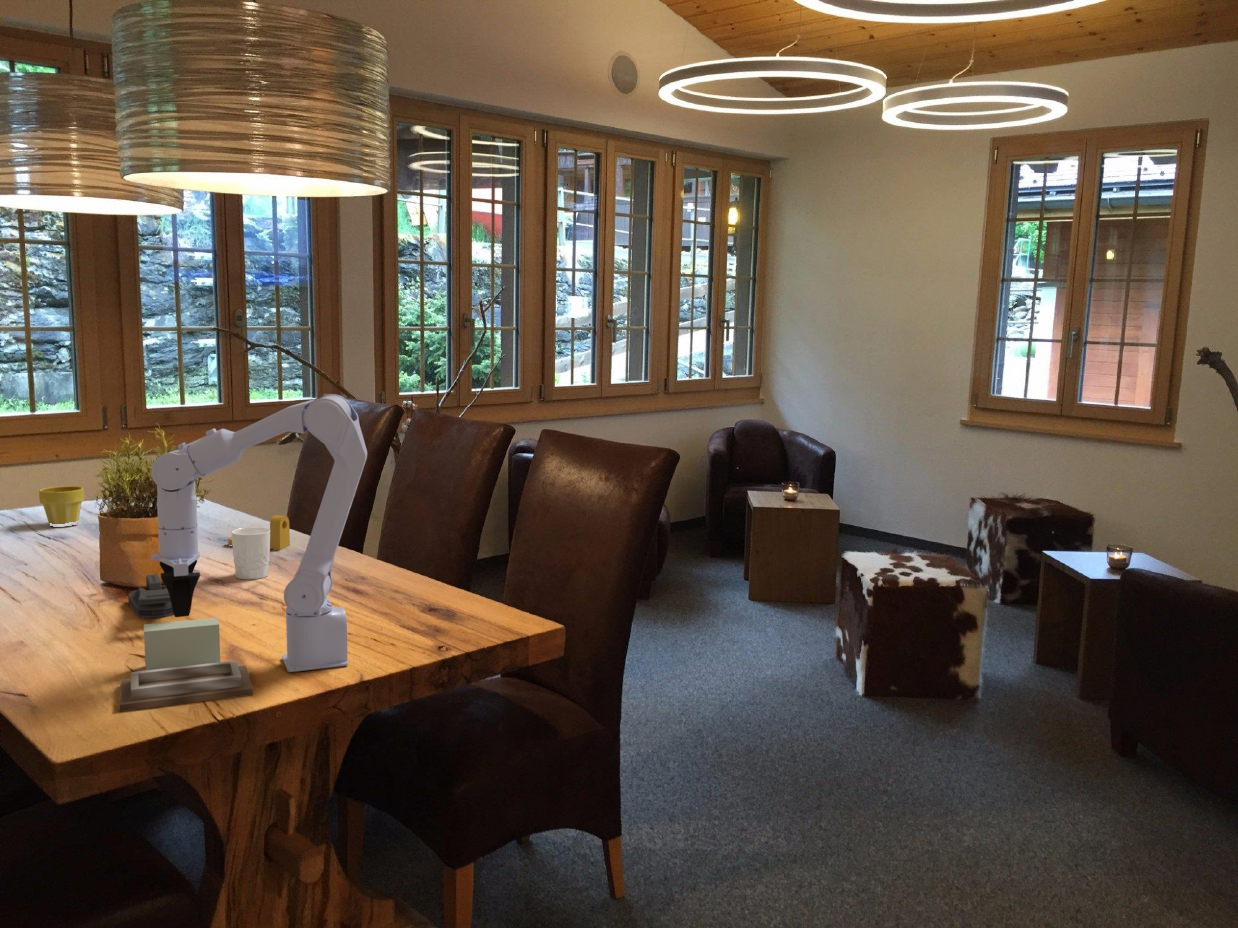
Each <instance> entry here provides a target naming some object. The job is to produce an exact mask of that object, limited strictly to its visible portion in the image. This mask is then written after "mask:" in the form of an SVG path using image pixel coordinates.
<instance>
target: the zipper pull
mask: <svg viewBox="0 0 1238 928" xmlns="http://www.w3.org/2000/svg"><path fill="white" fill-rule="evenodd" d="M145 580H146V581H145V586H142V587H141V586H140V587H139V588H137V589H136V590H133V591H131V592H130V593H129V594H128V595H127V597H128V601H127V602H128V607H129V608H130V609H131V610H132V611H133V612H134V615H136V616H138V619H150V620H151V619H153V620H154V619H160V618H161V619H163V618H168V617H171V616H174V613H173V609H172V605H171V600H170V596H169V593H168V590H167V588H166V586H165V584H164V585H162V582H161V581H162V580H161V579H160V577H159V575H158V573H155V574H147V575H146V577H145Z"/></svg>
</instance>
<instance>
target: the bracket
mask: <svg viewBox="0 0 1238 928" xmlns="http://www.w3.org/2000/svg"><path fill="white" fill-rule="evenodd" d="M269 529H270V549H273V550H272V551H275V550H281V551H283V550H282V549H284V548H286V547H288V546H290V547H291V543H290V538H291V537H290V520H289V517H288V516H287V515H272V517H271V519H270V521H269ZM228 545H232V536H230V537H227V546H228ZM286 549H287V548H286ZM284 550H285V549H284Z"/></svg>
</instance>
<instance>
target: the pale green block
mask: <svg viewBox="0 0 1238 928" xmlns="http://www.w3.org/2000/svg"><path fill="white" fill-rule="evenodd" d="M218 619H219V618H218V617H211V618H199V619H188V620H180V621H179V620H178V621H177V620H176V621H167V622H158V623H147V624H145V623H144V624H143V635H144V636H143V638H144V639H143V640H144V642H143V643H144V662H145V665H144V667H145V671H146V670H155V669H164V668H173V667H182V666H190V665H199V664H208V663H217V662H221V643H220V638H221V637H220V636H221V635H220V623H219V620H218Z"/></svg>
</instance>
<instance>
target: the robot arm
mask: <svg viewBox="0 0 1238 928" xmlns="http://www.w3.org/2000/svg"><path fill="white" fill-rule="evenodd" d="M289 432H292V433H297V434H305V433H308V432H309V433H311V435H313V436H314V438H316V439H317V440H319V441H320V442H321V443H322V444H324V445H325V448H326V449H327V451H328V452H329V454H330V455H331V457H332V458H333V460H334V463H333V465H332V469H331V471H330V474H329V478H328V482H327V485H326V488H325V490H324V492H323V493H324V494H323V496H322V499H321V503H320V504H319V505H320V506H319V508H318V511H317V515H316V518H315V521H314V524H313V527H312V529H311V533H310V537H309V539H308V543H307V546H306V549H305V551H304V554H303V556H302V559H301V561H300V563H299V565H298V569H297V570H296V572H295V574H294V577H293V578H292V579H291V580H290V581H289V583H288V584H287V585H286V586H285V588H284V591H283V601H284V603H285V605H286V607H285V618H286V619H285V620H286V621H285V622H286V627H285V628H286V629H285V631H286V654H282V655H281V659H282V661H283V664H284V665H285V668H286V671H287V672H288V673H295V672H302V671H310V670H311V671H312V670H320V669H329V668H337V667H345V666H349V661H348V660H349V659H348V624H347V622H348V620H347V615H346V611H345V609H344V607H341V606H340V607H339V606H338V607H334V606H333V603H331V602H330V600H329V598H328V597H327V596H328V595H329V593H330V592H331V590H332V588H333V577H332V568H333V565H334V562H335V556H336V552H337V550H338V547H339V544H340V540H341V538H342V534H343V531H344V529H345V525H346V522H347V519H348V516H349V513H350V511H351V510H350V509H351V508H352V504H353V501H354V498H355V497H356V493H357V489H358V486H359V483H360V480H361V477H362V473H363V471H364V467H365V465H366V462H367V459H368V449H367V447H366V443H365V440H364V435H363V432H362V428H361V426H360V419H359V415H358V413H357V411H356V410H355V409H354V407H353V405H351V403H350V402H349V401H348V400H347V399H346V397H344V396H341V395H339V394H335V393H332V394H331V393H329V394H326V395H323V396H321V397H320V398H317V399H315V398H313V399H311V400H307V401H303V402H300V403H296V404H292V405H290V406H288V407H286V408H283V409H281V410H279V411H277V412H275V413H273V414H271V415H269V416H266V417H265V418H263V419H260V420H258V421H256V422H254V423H252V424H249V425H248V426H246V427H244V428H242V429H239V430H237V431H231V430H230V429H229V430H228V429H226V428H221V429H218V430H217V429H216V428H211V429H210V430H207V431H206V432H205V435H204V436H203V437H200V438H198V439H196V440H194V441H192V442H189V443H186V442H182V443H180V444H178V445H177V449H176V450H171V451H170V452H164V453H163V454H162V455H161V456H159V457H157V459H156V460H155V461H154V462H153V463H152V465H151V471H150V474H151V478H152V480H153V482H154V483H155V485H156V491H157V492H156V493H157V497H156V498H157V499H156V504H157V505H156V506H157V507H156V508H157V526H158V527H157V529H158V530H157V532H158V553H152V554H151V555H150V556H151V557H150V559H151V561H153V562H155V561H156V562H157V561H159V566H160V568H161V569H162V571H163V572H161V573H160V578H161V579H160V580H161V581H162V583H163V584H164V585H165V586H166V588H167V590H168V593H169V596H170V600H171V605H172V609H173V613H174V615H173V616H174V617H175V618H181V617H190V614H191V610H192V603H193V597H194V593H195V589H196V586H197V583H198V581H199V580H200V578H201V572H194V569H195V567H196V566H197V563H198V560H199V559H200V557H201V555H200V551H199V538H198V537H199V536H198V535H199V533H198V510H197V509H198V507H197V504H198V503H197V496H196V493H197V492H196V480H197V479H198V478H201V479H202V478H205V477H207V476H209V475H211V474H214V473H216V472H218V471H221V470H223V469H225V468H227V467H229V466H232V465H234V464H236V463H238V462H240V460H241V459H242V456H243V453H244V451H245V450H246V449H250V448H251V447H253V446H256V445H258V444H261V443H263V442H265V441H268V440H270V439H273V438H276V437H278V436H280V435H282V434H285V433H289Z"/></svg>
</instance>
